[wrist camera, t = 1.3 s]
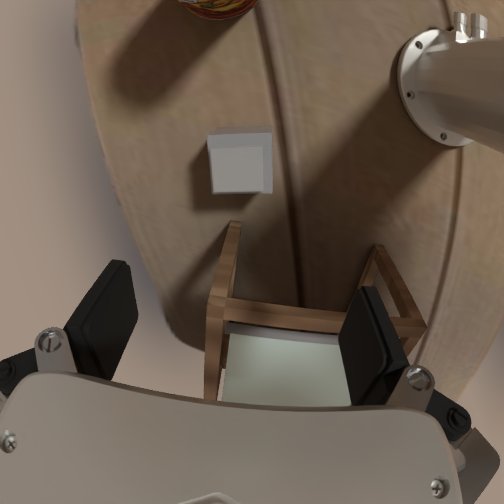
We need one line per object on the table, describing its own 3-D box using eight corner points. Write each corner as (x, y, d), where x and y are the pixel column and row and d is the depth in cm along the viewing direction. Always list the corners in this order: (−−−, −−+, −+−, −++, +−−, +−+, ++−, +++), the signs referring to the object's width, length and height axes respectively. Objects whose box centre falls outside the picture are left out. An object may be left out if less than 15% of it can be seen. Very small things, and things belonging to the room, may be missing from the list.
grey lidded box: (217, 127, 25) (205, 136, 21) (271, 125, 25) (271, 133, 20) (221, 177, 28) (210, 197, 23) (272, 175, 28) (272, 196, 23)
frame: (230, 220, 30) (206, 304, 19) (383, 245, 31) (427, 327, 20) (219, 332, 39) (203, 414, 28) (337, 346, 40) (350, 424, 29)
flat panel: (227, 319, 22) (225, 328, 21) (395, 336, 22) (398, 344, 21) (219, 392, 28) (217, 400, 27) (348, 402, 28) (349, 409, 27)
